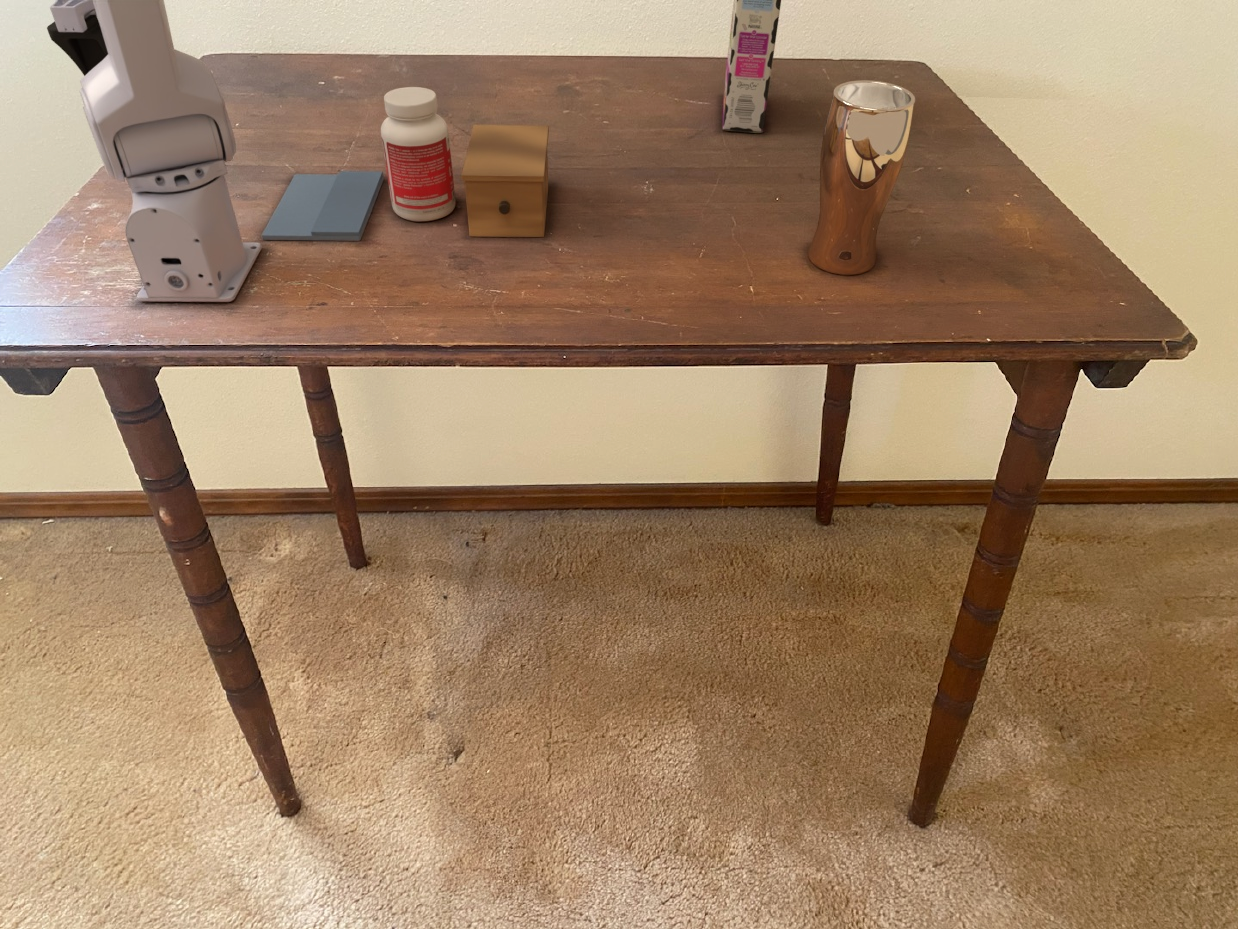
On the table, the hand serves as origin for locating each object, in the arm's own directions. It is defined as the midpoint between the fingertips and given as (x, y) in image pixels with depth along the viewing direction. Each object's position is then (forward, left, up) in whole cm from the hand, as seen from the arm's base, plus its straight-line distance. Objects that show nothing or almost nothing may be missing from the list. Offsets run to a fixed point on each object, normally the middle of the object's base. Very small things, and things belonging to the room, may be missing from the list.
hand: (133, 90), depth 85 cm
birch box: (-2, -34, -10) cm, 36 cm away
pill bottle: (-2, -26, -11) cm, 28 cm away
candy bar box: (+23, -60, -11) cm, 65 cm away
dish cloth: (-2, -16, -10) cm, 19 cm away
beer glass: (-11, -65, -11) cm, 67 cm away
